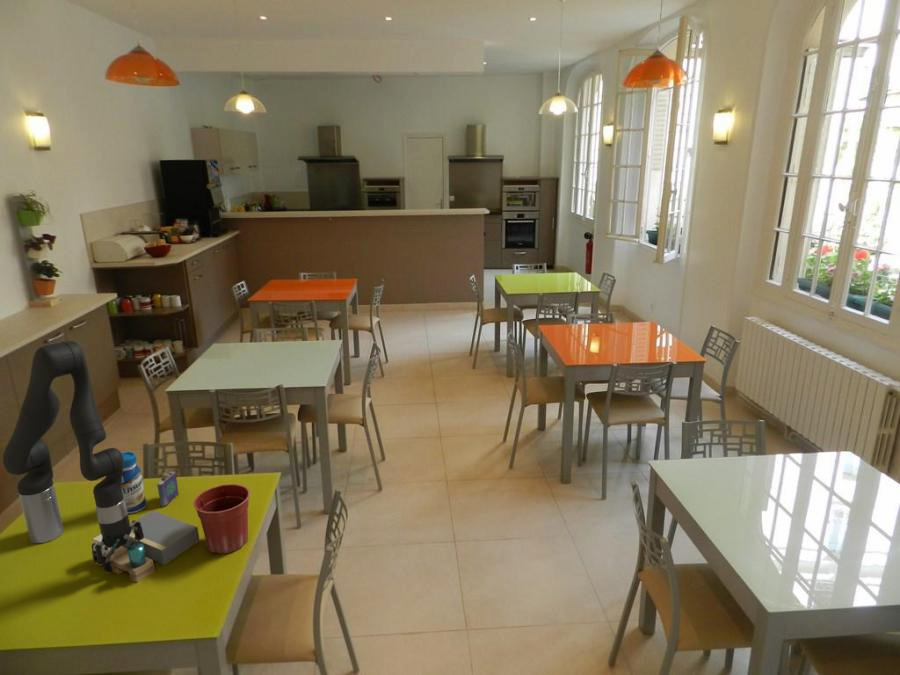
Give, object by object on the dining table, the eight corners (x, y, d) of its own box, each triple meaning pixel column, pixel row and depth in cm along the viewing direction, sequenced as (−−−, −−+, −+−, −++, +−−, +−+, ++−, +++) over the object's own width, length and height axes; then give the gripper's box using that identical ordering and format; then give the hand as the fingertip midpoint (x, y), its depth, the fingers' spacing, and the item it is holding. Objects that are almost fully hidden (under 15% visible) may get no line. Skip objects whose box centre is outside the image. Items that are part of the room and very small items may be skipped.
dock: (119, 545, 189) (116, 531, 188) (155, 523, 200) (152, 510, 199) (164, 564, 180) (161, 550, 179) (199, 540, 191) (197, 526, 190)
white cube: (95, 550, 181) (93, 538, 180) (108, 542, 184) (105, 531, 183) (103, 553, 179) (101, 542, 178) (116, 546, 182) (114, 535, 181)
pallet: (94, 562, 181) (91, 551, 180) (111, 552, 186) (109, 541, 185) (137, 582, 173) (135, 571, 171) (154, 571, 177) (152, 559, 176)
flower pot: (219, 524, 200) (213, 481, 195) (265, 529, 196) (259, 486, 192) (189, 555, 184) (181, 509, 179) (238, 562, 181) (231, 515, 176)
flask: (165, 507, 210) (161, 480, 206) (158, 506, 210) (153, 479, 207) (180, 493, 218) (176, 466, 215) (173, 492, 219) (168, 466, 216)
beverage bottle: (139, 498, 215) (130, 447, 209) (152, 506, 210) (142, 454, 205) (115, 509, 209) (105, 457, 203) (128, 517, 204) (117, 464, 198)
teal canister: (127, 565, 174) (124, 549, 173) (140, 556, 178) (137, 541, 176) (136, 569, 172) (133, 553, 171) (149, 560, 176) (146, 545, 174)
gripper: (127, 500, 181) (136, 546, 186) (80, 524, 169) (91, 573, 174) (143, 506, 178) (152, 553, 183) (97, 531, 166) (107, 581, 171)
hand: (122, 563), depth 178 cm, fingers open, 8 cm apart
